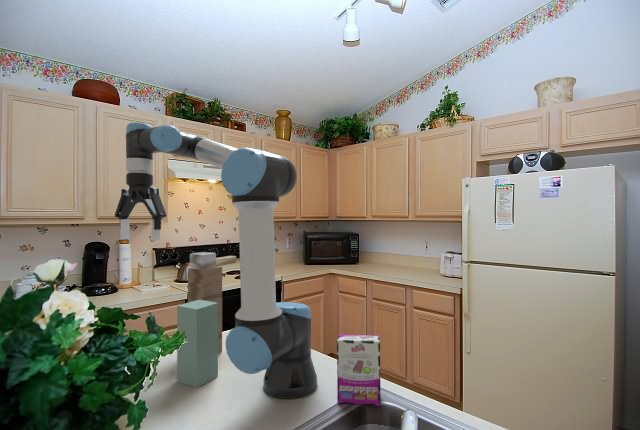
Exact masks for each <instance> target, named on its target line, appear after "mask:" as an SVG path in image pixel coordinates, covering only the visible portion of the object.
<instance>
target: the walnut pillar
mask: <svg viewBox="0 0 640 430" xmlns="http://www.w3.org/2000/svg"><path fill="white" fill-rule="evenodd" d="M196 300H204V301H210V302H216V303H218V355H219V354H221V353H222V352H223V266H216V268H210V269H205V270H199V269H190V267H188V268H187V303H189V302H192V301H196Z"/></svg>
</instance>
